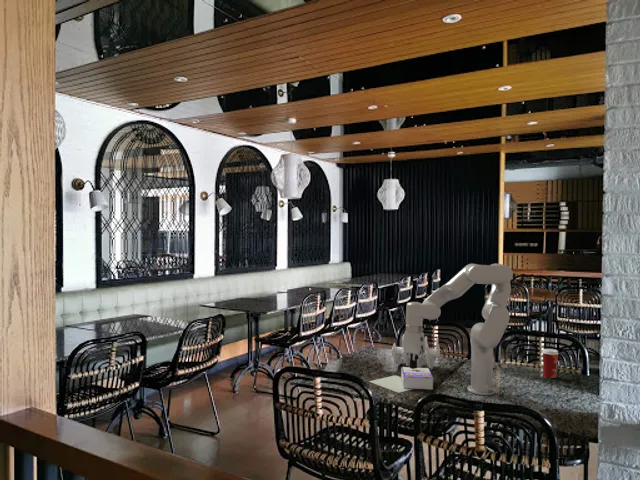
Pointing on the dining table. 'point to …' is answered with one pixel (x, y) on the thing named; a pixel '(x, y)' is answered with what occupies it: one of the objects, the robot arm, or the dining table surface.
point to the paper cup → (550, 362)
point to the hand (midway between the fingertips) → (413, 368)
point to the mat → (391, 383)
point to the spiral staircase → (429, 354)
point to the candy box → (416, 378)
